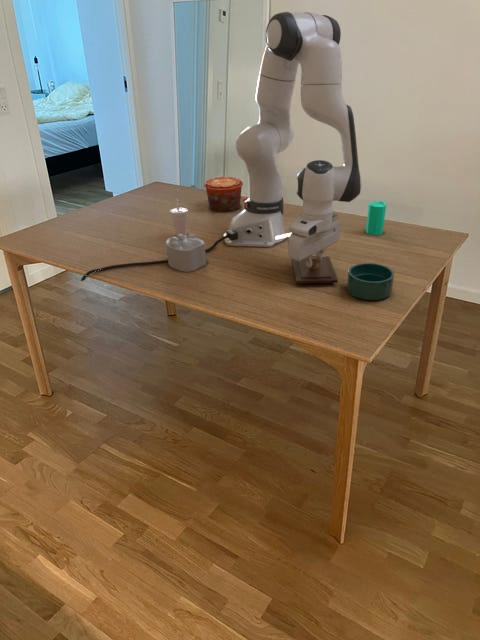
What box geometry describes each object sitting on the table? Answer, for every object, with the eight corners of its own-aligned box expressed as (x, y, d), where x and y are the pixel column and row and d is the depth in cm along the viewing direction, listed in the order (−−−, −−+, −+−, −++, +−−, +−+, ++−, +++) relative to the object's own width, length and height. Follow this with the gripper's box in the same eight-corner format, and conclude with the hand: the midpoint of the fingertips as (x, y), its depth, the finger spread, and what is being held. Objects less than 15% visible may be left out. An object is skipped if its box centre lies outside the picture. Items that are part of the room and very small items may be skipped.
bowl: (352, 302, 135) (354, 283, 132) (343, 282, 145) (344, 264, 142) (396, 300, 135) (399, 281, 132) (384, 280, 145) (386, 262, 142)
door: (296, 283, 143) (296, 269, 141) (291, 259, 157) (291, 247, 154) (337, 282, 143) (338, 268, 140) (329, 259, 156) (330, 246, 154)
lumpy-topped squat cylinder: (186, 273, 154) (184, 247, 150) (160, 262, 162) (156, 238, 157) (210, 262, 161) (208, 237, 156) (183, 252, 168) (181, 228, 164)
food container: (213, 216, 198) (212, 189, 193) (200, 204, 211) (198, 179, 205) (249, 209, 204) (249, 183, 198) (234, 198, 216) (233, 174, 211)
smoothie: (169, 237, 180) (165, 200, 173) (178, 231, 185) (174, 194, 178) (185, 239, 178) (181, 201, 171) (193, 233, 183) (189, 196, 176)
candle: (381, 229, 180) (385, 196, 174) (384, 235, 175) (388, 202, 169) (364, 229, 180) (368, 196, 174) (366, 235, 175) (370, 202, 169)
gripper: (329, 208, 149) (326, 250, 157) (285, 227, 137) (283, 272, 145) (346, 213, 145) (342, 256, 153) (302, 233, 133) (300, 278, 141)
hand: (313, 264), depth 149 cm, fingers closed on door, 2 cm apart
